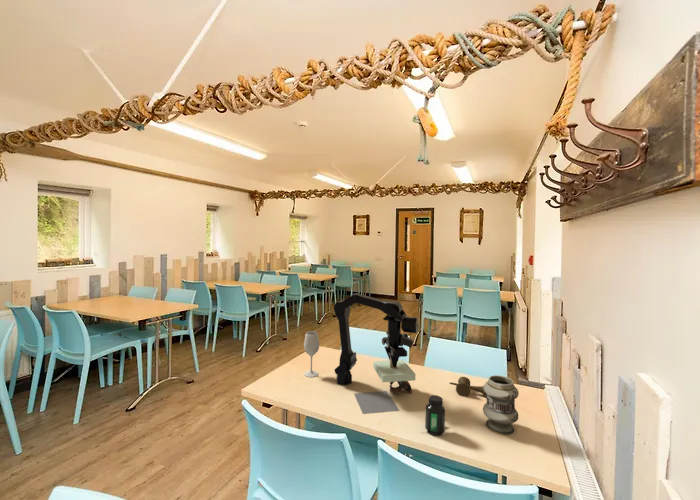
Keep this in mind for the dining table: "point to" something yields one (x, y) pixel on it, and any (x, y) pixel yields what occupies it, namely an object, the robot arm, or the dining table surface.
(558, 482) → the dining table surface
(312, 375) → the wineglass
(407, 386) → the pottery mug
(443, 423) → the supplement bottle
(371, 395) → the mat
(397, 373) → the lid
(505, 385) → the apothecary jar
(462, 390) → the kendama
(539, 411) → the dining table surface
